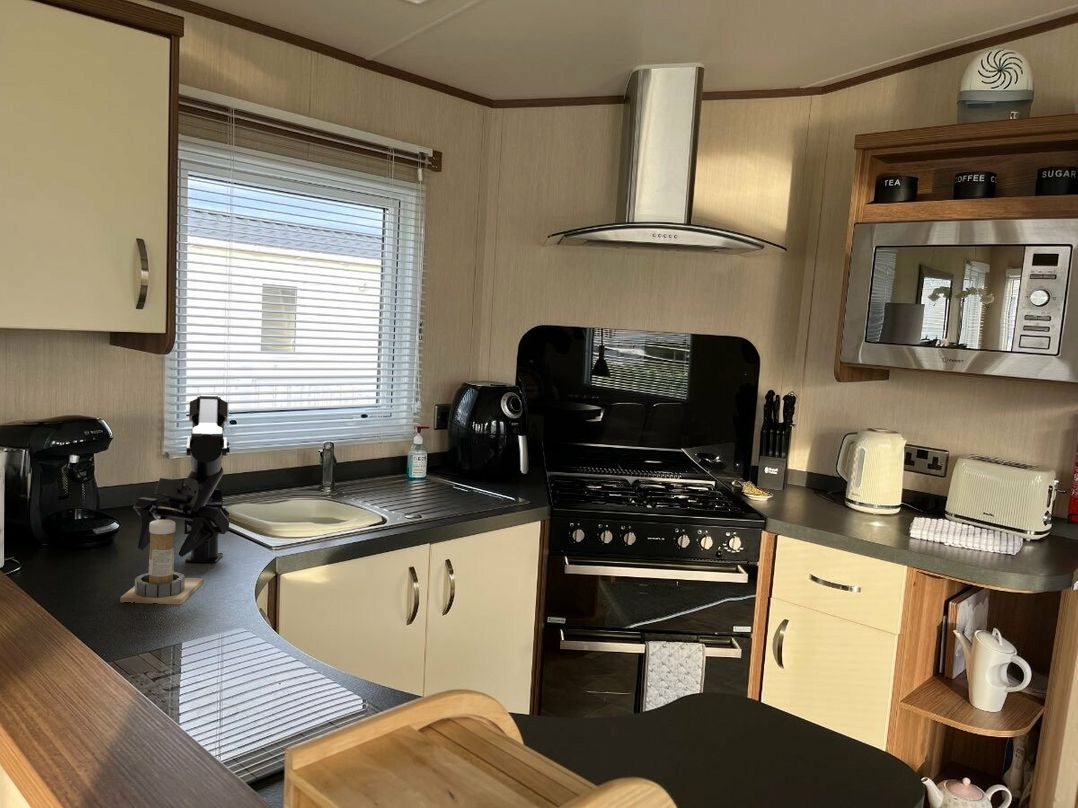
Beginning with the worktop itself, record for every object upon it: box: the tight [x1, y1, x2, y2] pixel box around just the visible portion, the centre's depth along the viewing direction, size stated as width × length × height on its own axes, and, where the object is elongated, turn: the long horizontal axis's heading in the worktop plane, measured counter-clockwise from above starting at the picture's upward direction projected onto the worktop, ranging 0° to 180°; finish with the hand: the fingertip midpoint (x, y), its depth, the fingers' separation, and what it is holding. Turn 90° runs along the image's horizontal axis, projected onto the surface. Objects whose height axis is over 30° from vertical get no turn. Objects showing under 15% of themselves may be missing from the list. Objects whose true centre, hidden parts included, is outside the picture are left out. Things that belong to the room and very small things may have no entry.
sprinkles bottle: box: [148, 519, 177, 583], centre depth 162 cm, size 5×5×14 cm
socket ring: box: [134, 571, 186, 598], centre depth 163 cm, size 8×8×2 cm
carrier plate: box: [119, 577, 204, 605], centre depth 165 cm, size 13×11×2 cm
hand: (159, 552), depth 162 cm, fingers open, 9 cm apart
